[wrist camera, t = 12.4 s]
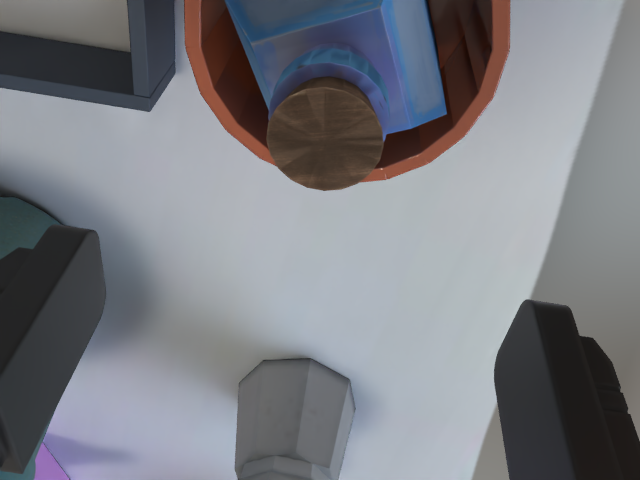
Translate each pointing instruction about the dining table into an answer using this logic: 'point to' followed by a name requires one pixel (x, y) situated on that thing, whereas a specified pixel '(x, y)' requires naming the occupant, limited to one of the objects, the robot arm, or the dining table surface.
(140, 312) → the dining table surface
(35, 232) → the flower pot
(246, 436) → the coffee maker
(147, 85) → the tray
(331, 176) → the perfume bottle
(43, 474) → the teapot
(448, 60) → the round terracotta bowl
